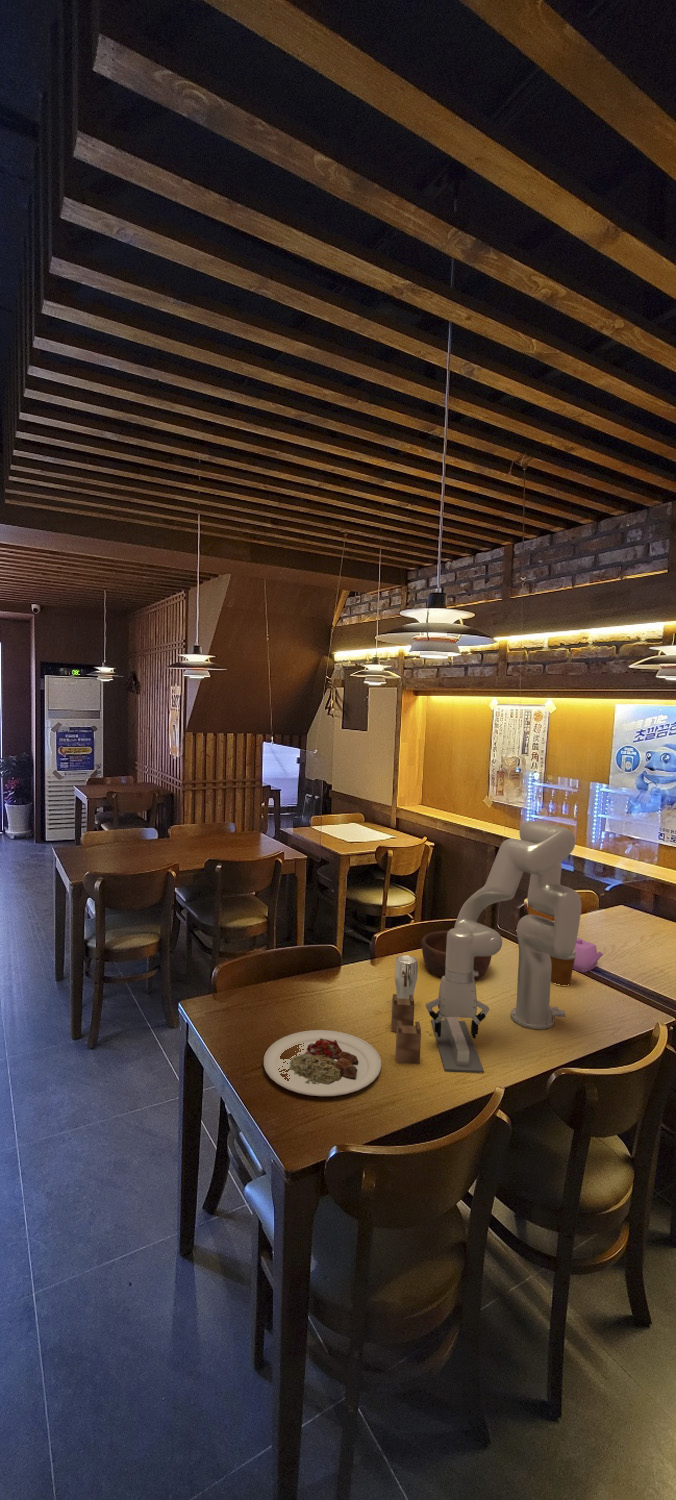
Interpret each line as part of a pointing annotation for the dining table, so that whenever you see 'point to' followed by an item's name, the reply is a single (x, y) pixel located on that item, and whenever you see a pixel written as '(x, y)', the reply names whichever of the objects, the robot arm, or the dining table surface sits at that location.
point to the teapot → (585, 956)
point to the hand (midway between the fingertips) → (455, 1035)
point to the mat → (447, 1051)
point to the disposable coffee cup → (562, 969)
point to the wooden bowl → (436, 955)
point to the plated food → (323, 1063)
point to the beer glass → (405, 976)
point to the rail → (457, 1041)
